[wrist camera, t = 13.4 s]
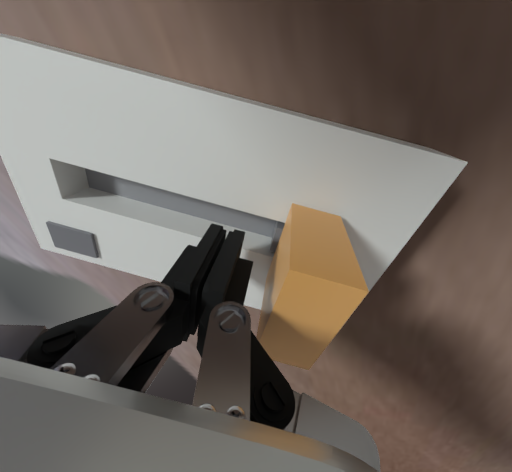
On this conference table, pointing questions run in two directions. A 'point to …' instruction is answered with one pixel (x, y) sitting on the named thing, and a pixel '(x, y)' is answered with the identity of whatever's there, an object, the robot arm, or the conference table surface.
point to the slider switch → (193, 167)
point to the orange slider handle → (308, 286)
